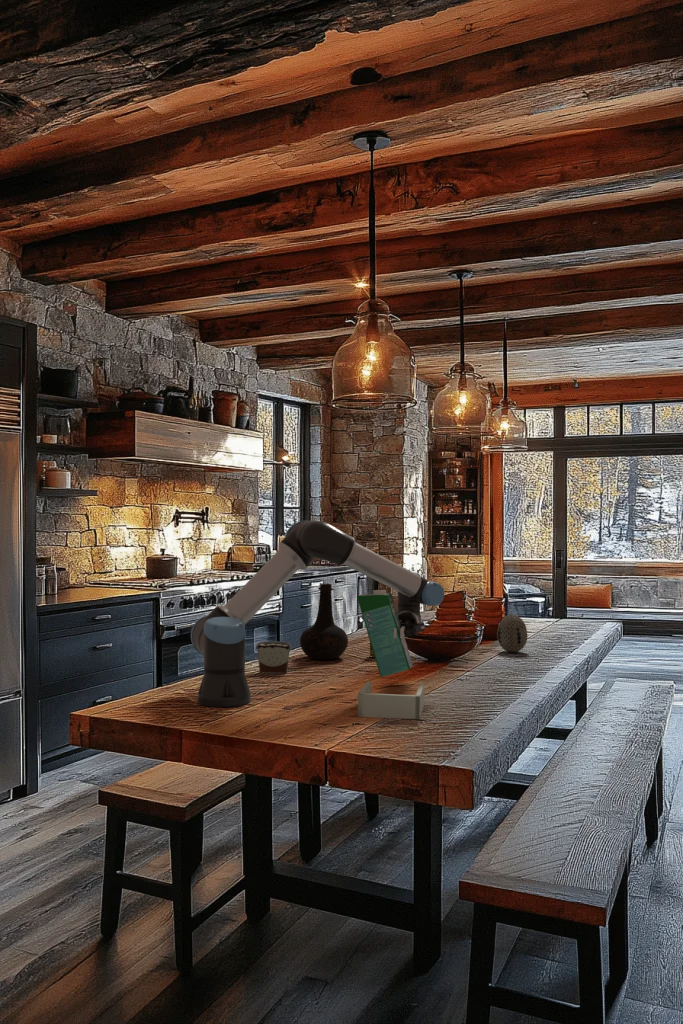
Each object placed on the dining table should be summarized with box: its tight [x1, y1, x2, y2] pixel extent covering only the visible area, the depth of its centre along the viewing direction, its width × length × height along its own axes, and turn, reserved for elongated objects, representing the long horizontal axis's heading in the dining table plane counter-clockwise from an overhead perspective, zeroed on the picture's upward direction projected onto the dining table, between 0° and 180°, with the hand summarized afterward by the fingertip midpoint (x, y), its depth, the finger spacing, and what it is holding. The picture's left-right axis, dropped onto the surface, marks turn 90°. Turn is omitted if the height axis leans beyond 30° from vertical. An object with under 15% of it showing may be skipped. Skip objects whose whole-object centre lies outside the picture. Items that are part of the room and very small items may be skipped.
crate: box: [357, 680, 425, 720], centre depth 227 cm, size 17×16×6 cm
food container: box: [255, 640, 292, 674], centre depth 283 cm, size 12×6×10 cm, turn 84°
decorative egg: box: [496, 613, 528, 653], centre depth 327 cm, size 12×12×15 cm
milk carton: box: [356, 589, 413, 678], centre depth 248 cm, size 9×9×25 cm
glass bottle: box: [299, 583, 349, 661], centre depth 311 cm, size 18×18×28 cm
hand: (398, 633), depth 242 cm, fingers closed on milk carton
